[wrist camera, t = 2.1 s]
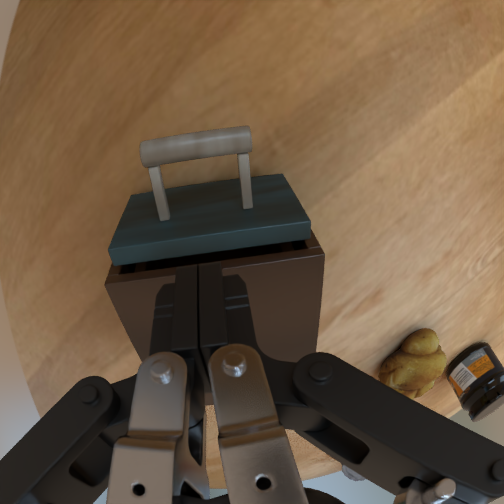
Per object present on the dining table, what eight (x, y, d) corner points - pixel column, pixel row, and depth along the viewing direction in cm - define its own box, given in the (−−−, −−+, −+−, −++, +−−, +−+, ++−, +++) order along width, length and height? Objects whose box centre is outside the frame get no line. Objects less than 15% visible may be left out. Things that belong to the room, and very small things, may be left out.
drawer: (116, 131, 20) (80, 167, 14) (279, 108, 21) (311, 132, 15) (169, 321, 31) (166, 383, 25) (285, 305, 31) (303, 365, 25)
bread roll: (406, 320, 38) (433, 368, 31) (450, 321, 40) (477, 361, 33) (361, 379, 44) (378, 423, 38) (406, 375, 47) (424, 414, 40)
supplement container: (444, 360, 47) (473, 414, 37) (490, 330, 45) (522, 379, 35) (443, 382, 53) (467, 429, 43) (484, 356, 51) (510, 400, 41)
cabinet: (131, 210, 24) (103, 284, 17) (288, 188, 25) (325, 254, 18) (171, 333, 33) (168, 408, 25) (289, 317, 34) (311, 389, 26)
